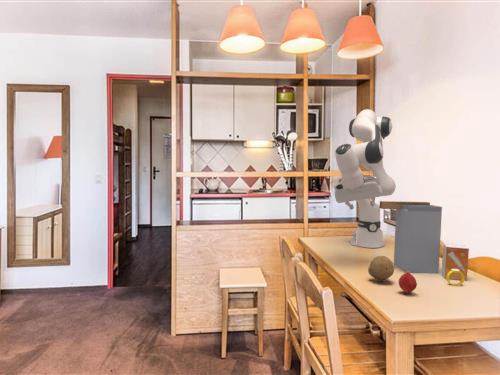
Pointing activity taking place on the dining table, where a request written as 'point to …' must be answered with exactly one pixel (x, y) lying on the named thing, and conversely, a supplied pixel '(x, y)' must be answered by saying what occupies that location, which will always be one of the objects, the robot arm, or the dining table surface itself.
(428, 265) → the stand
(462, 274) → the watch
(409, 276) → the red rounded lump
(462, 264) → the small box
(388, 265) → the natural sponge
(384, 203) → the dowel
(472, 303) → the dining table surface
